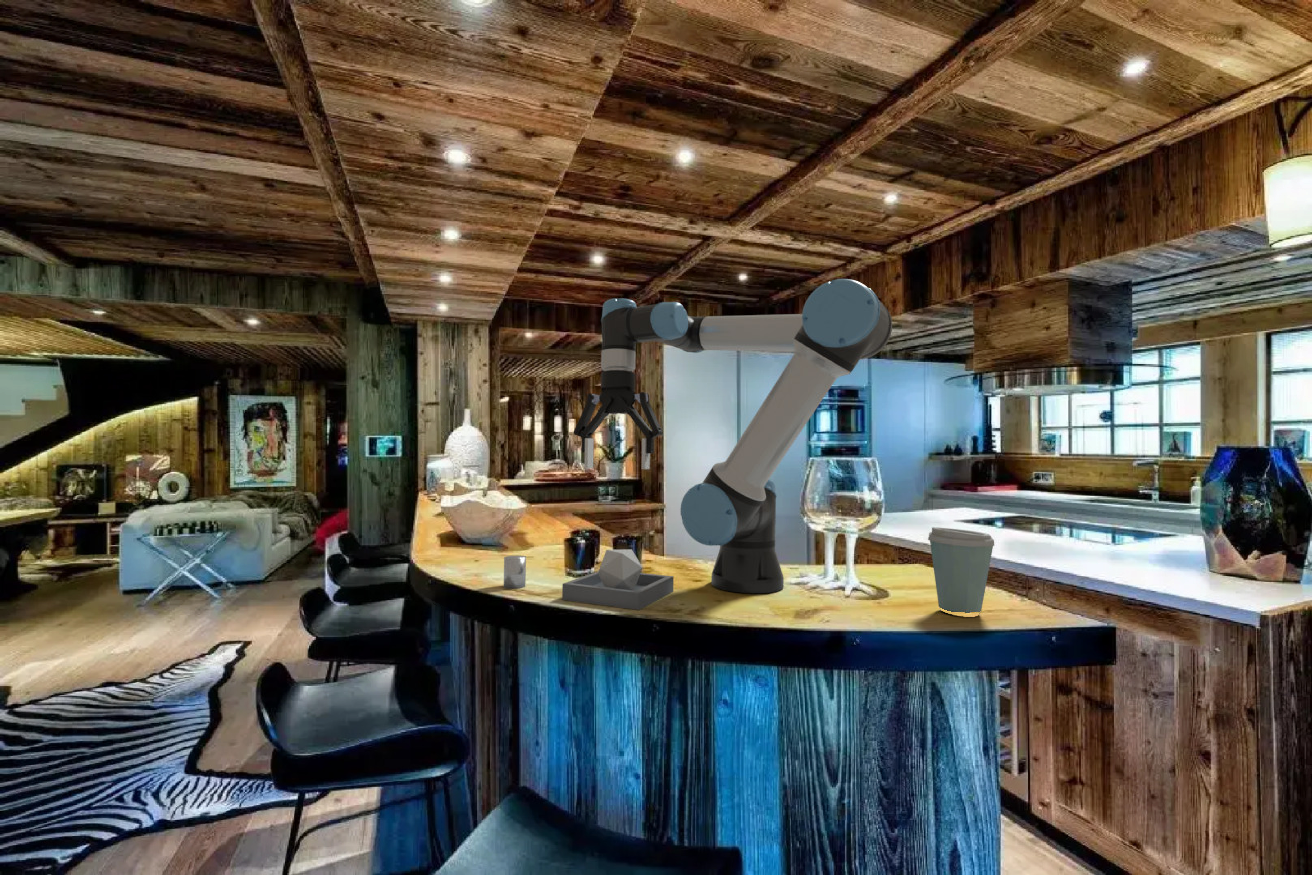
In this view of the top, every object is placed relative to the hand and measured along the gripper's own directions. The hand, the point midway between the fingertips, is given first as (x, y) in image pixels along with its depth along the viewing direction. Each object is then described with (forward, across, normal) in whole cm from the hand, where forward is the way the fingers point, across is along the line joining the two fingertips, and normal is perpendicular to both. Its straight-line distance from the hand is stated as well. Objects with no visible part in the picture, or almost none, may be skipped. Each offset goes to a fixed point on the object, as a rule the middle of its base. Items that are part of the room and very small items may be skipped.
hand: (616, 468), depth 125 cm
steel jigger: (+24, +17, +12) cm, 32 cm away
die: (+24, -6, +11) cm, 27 cm away
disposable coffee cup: (+24, -67, -2) cm, 71 cm away
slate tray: (+24, -6, +11) cm, 27 cm away
